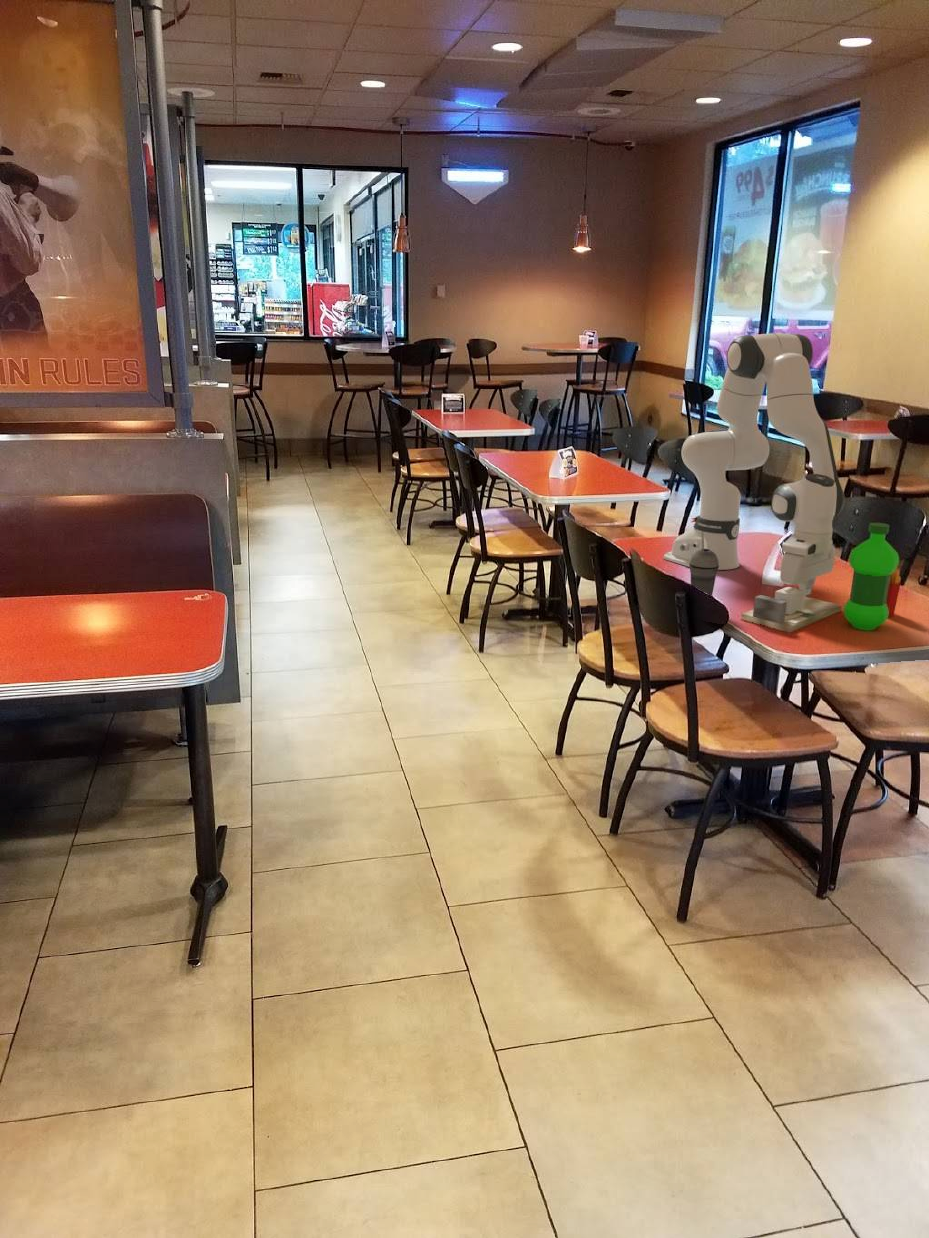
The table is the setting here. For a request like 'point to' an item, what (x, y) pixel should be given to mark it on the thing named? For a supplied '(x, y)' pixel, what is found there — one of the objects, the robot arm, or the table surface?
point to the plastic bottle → (871, 579)
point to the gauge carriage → (791, 599)
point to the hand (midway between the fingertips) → (804, 595)
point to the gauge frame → (775, 617)
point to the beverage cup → (704, 569)
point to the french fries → (893, 592)
